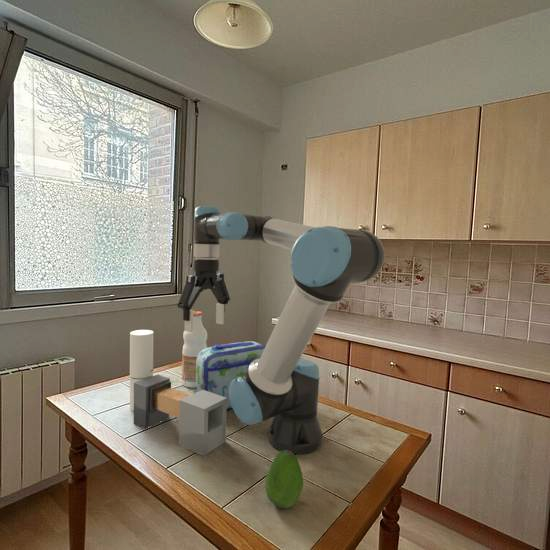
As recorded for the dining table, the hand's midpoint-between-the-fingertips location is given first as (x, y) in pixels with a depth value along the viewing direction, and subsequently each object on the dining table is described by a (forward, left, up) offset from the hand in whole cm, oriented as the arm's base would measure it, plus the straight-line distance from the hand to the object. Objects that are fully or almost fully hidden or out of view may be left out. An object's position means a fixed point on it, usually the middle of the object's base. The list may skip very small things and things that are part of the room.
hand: (204, 327), depth 114 cm
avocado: (-41, +18, -29) cm, 53 cm away
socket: (+11, +11, -29) cm, 33 cm away
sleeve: (-10, +11, -29) cm, 32 cm away
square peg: (+2, +11, -24) cm, 26 cm away
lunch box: (-1, -14, -29) cm, 32 cm away
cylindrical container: (+21, +7, -29) cm, 36 cm away
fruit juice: (+22, -18, -29) cm, 41 cm away
